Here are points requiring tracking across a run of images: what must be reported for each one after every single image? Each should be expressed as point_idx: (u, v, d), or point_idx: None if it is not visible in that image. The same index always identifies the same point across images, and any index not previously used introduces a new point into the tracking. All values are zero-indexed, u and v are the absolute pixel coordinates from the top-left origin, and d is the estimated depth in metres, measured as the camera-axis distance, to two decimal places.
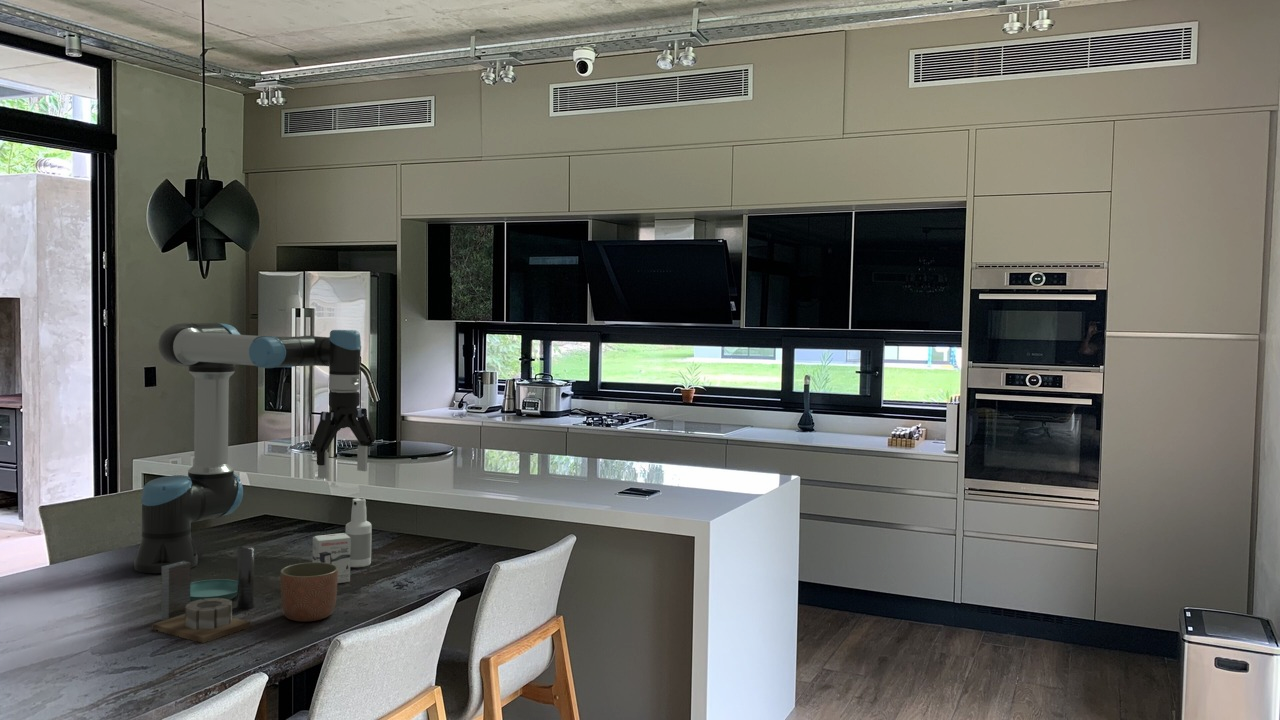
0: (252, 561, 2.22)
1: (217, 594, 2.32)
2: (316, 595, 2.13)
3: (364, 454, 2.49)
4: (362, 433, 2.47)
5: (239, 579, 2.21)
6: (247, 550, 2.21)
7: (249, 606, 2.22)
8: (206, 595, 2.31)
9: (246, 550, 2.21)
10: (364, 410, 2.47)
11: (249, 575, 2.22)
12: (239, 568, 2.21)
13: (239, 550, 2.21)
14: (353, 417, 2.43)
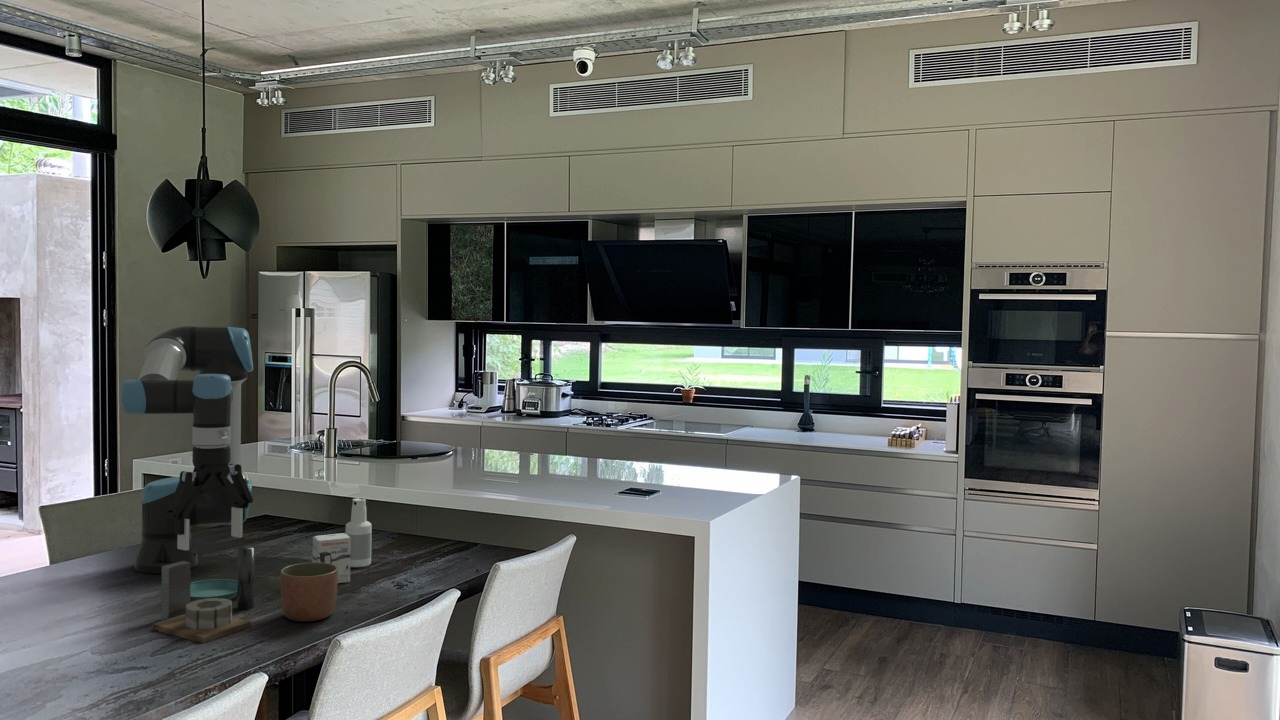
0: (252, 561, 2.22)
1: (217, 594, 2.32)
2: (316, 595, 2.13)
3: (238, 518, 2.13)
4: (235, 493, 2.12)
5: (239, 579, 2.21)
6: (247, 550, 2.21)
7: (249, 606, 2.22)
8: (206, 595, 2.31)
9: (246, 550, 2.21)
10: (238, 467, 2.12)
11: (249, 575, 2.22)
12: (239, 568, 2.21)
13: (239, 550, 2.21)
14: (222, 476, 2.08)
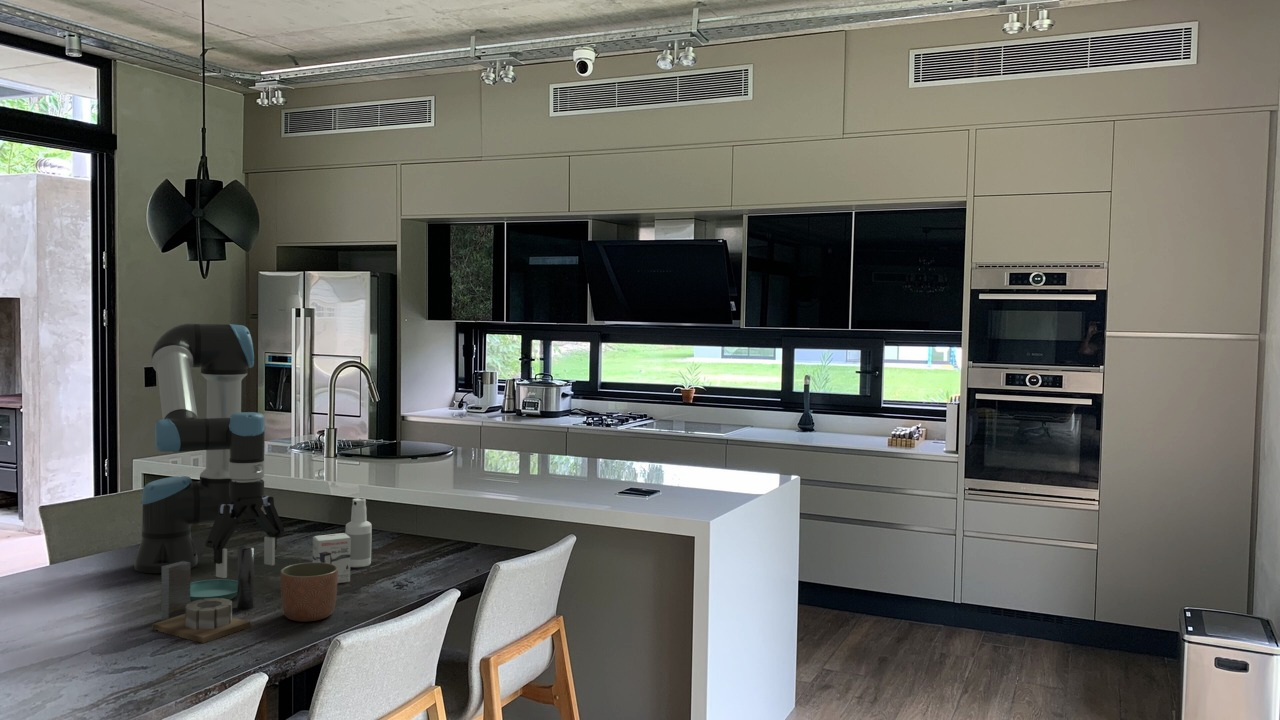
0: (252, 561, 2.22)
1: (217, 594, 2.32)
2: (316, 595, 2.13)
3: (271, 546, 2.28)
4: (268, 524, 2.27)
5: (239, 579, 2.21)
6: (247, 550, 2.21)
7: (249, 606, 2.22)
8: (206, 595, 2.31)
9: (246, 550, 2.21)
10: (270, 499, 2.27)
11: (249, 575, 2.22)
12: (239, 568, 2.21)
13: (239, 550, 2.21)
14: (256, 508, 2.22)
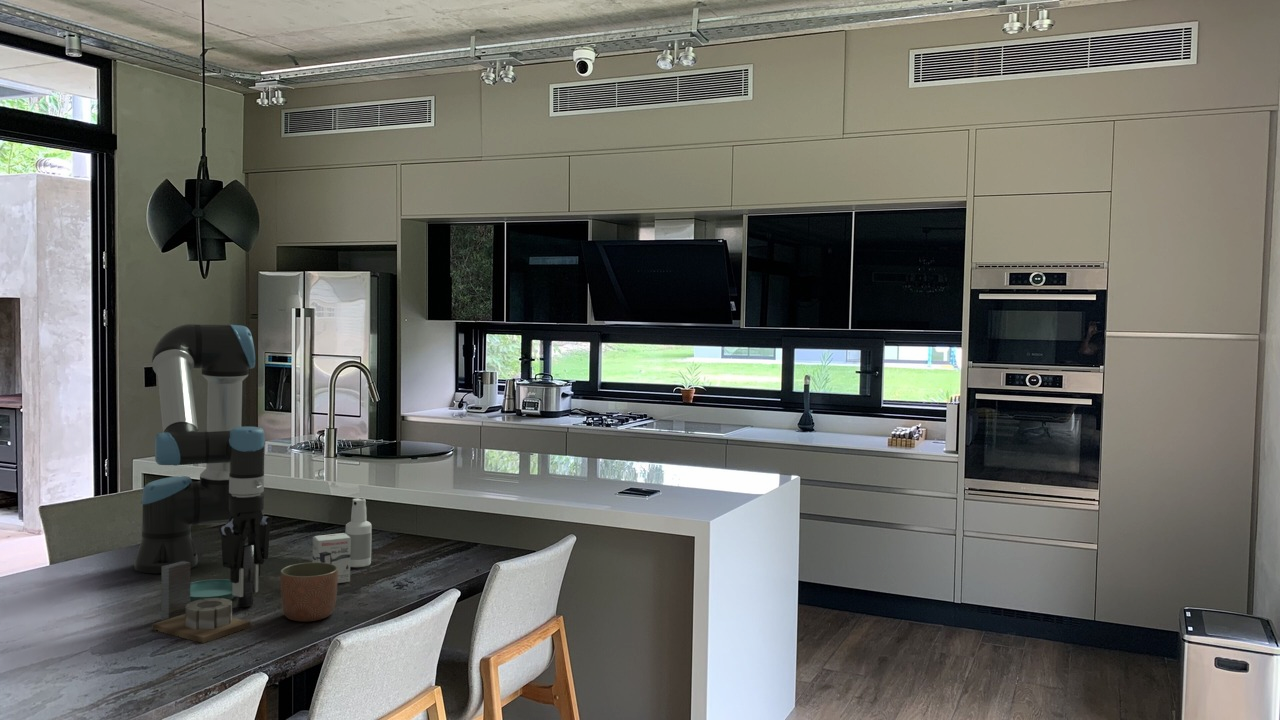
0: (252, 558, 2.23)
1: (217, 594, 2.32)
2: (316, 595, 2.13)
3: (254, 573, 2.24)
4: (258, 546, 2.24)
5: None
6: (247, 547, 2.21)
7: (249, 603, 2.22)
8: (206, 595, 2.31)
9: (246, 547, 2.21)
10: (269, 519, 2.27)
11: (249, 572, 2.22)
12: None
13: None
14: (256, 522, 2.23)
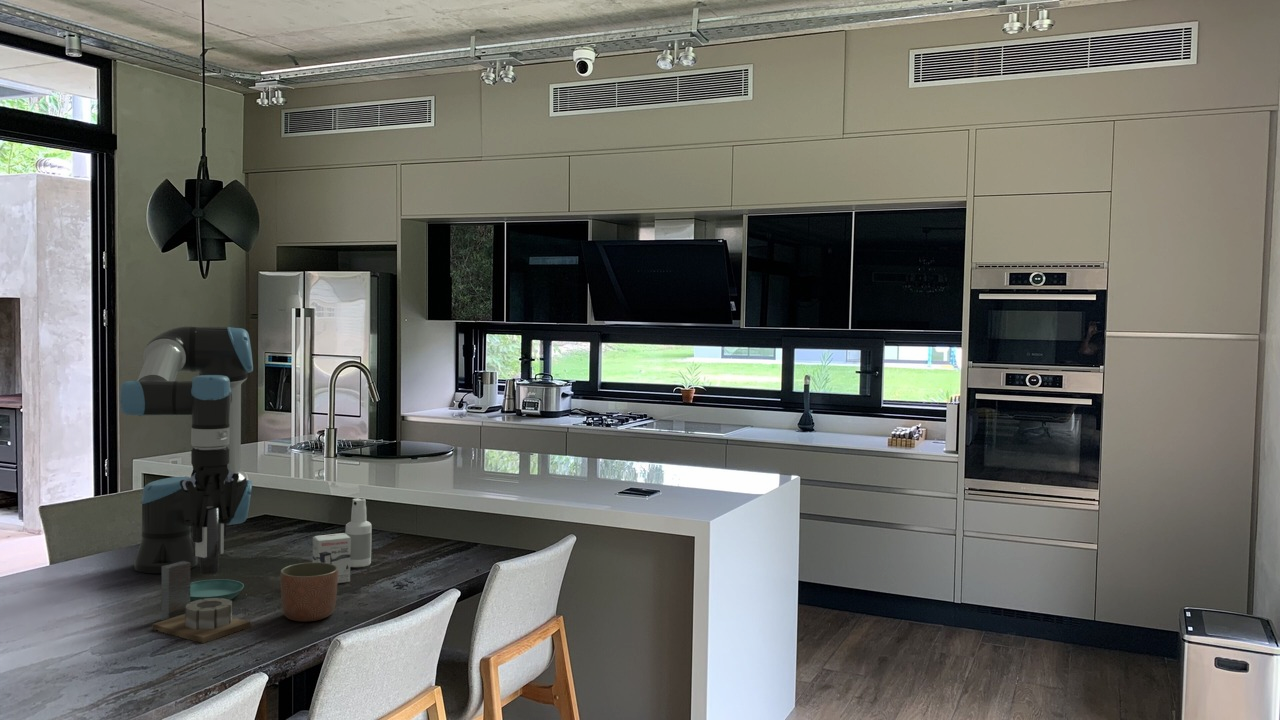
0: (216, 522, 2.07)
1: (217, 594, 2.32)
2: (316, 595, 2.13)
3: (219, 533, 2.09)
4: (223, 504, 2.09)
5: None
6: (211, 510, 2.06)
7: (213, 570, 2.07)
8: (206, 595, 2.31)
9: (210, 510, 2.06)
10: (236, 475, 2.12)
11: (213, 536, 2.06)
12: None
13: None
14: (220, 477, 2.07)
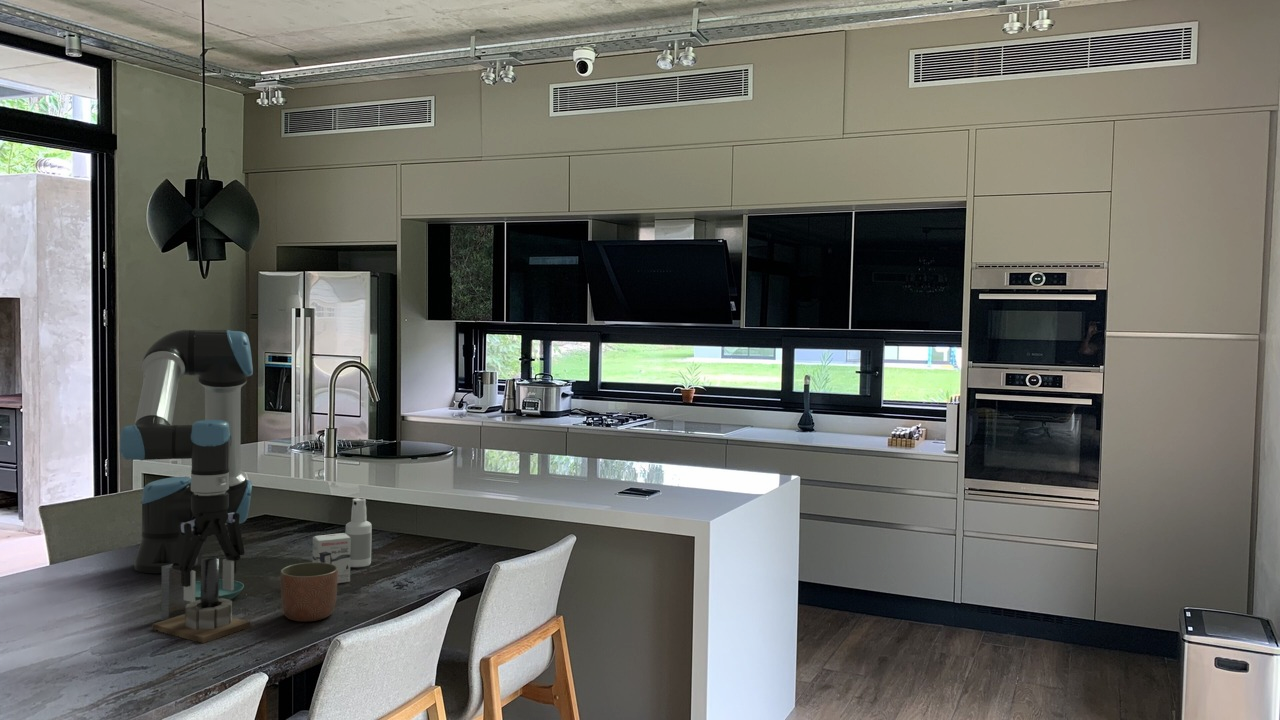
0: (217, 572, 2.08)
1: None
2: (316, 595, 2.13)
3: (230, 570, 2.12)
4: (229, 544, 2.11)
5: (202, 592, 2.07)
6: (211, 560, 2.07)
7: None
8: None
9: (210, 560, 2.07)
10: (236, 515, 2.12)
11: (213, 587, 2.07)
12: (203, 580, 2.07)
13: (203, 560, 2.07)
14: (220, 522, 2.08)
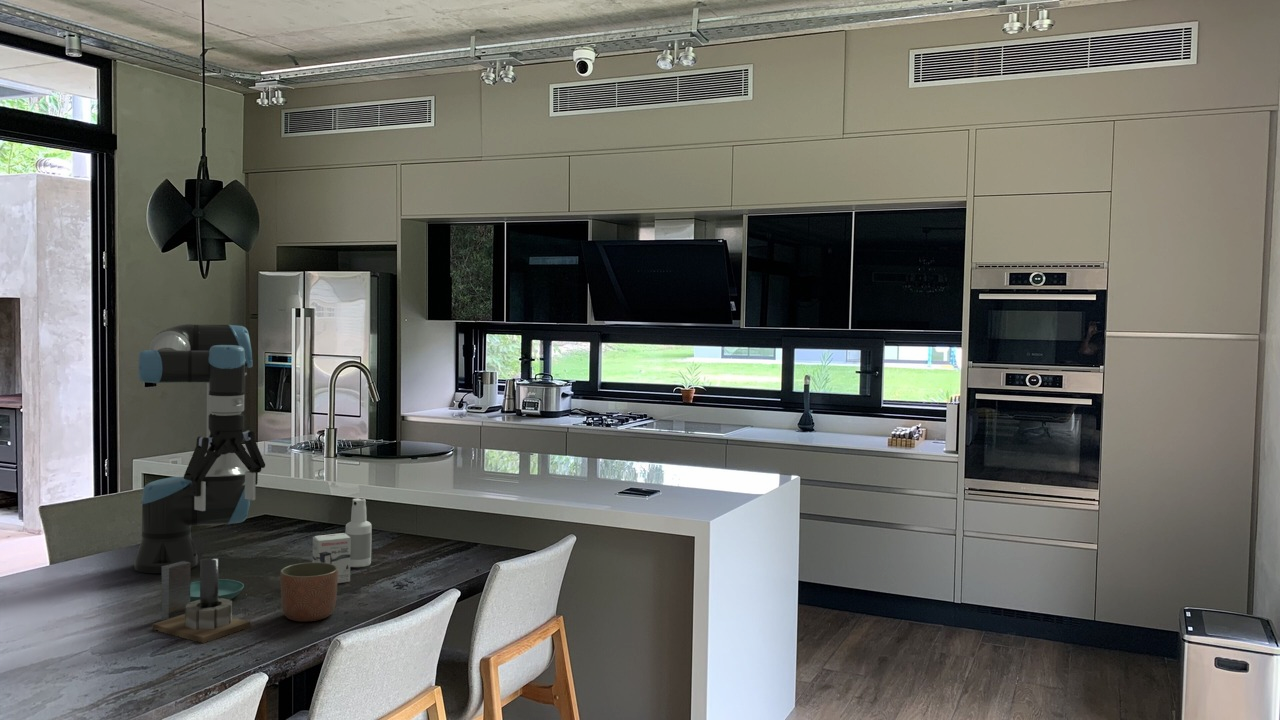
0: (216, 573, 2.07)
1: None
2: (316, 595, 2.13)
3: (252, 481, 2.25)
4: (249, 459, 2.24)
5: (202, 592, 2.07)
6: (210, 561, 2.06)
7: None
8: None
9: (209, 561, 2.06)
10: (251, 433, 2.24)
11: (212, 588, 2.07)
12: (202, 581, 2.06)
13: (202, 561, 2.06)
14: (236, 442, 2.20)
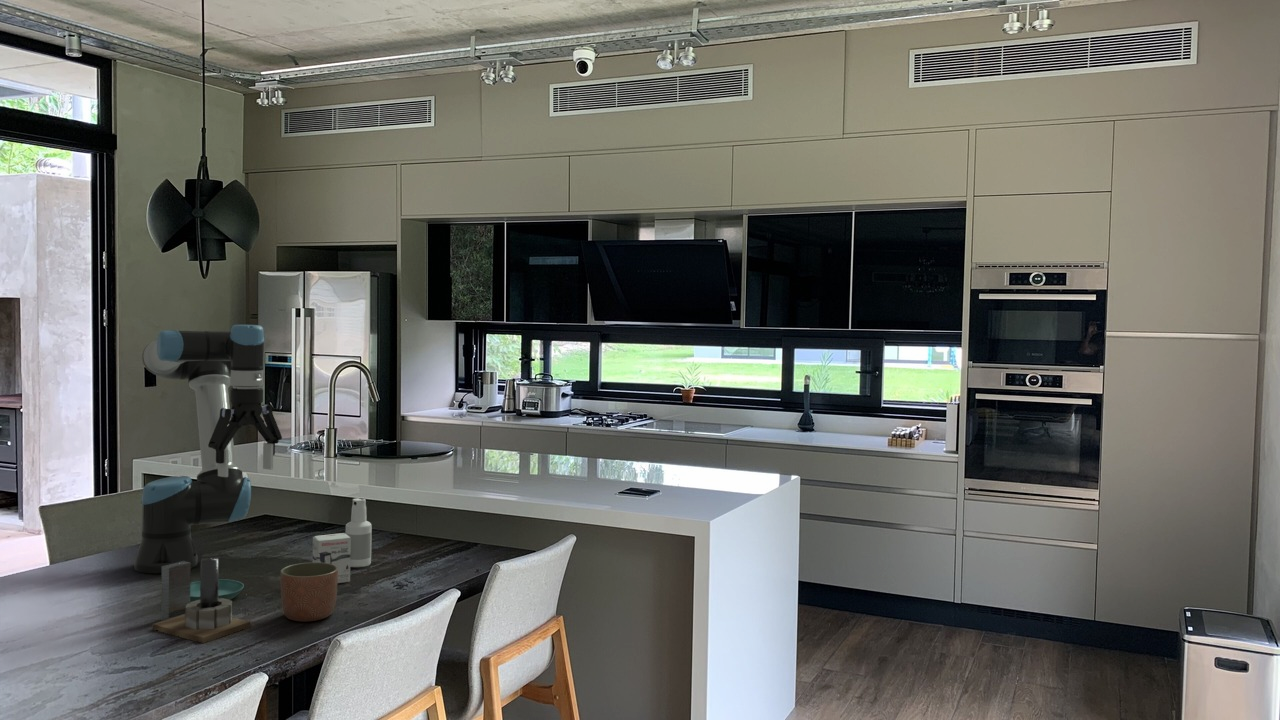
0: (216, 573, 2.07)
1: None
2: (316, 595, 2.13)
3: (269, 452, 2.43)
4: (267, 430, 2.41)
5: (202, 592, 2.07)
6: (211, 561, 2.06)
7: None
8: None
9: (210, 561, 2.06)
10: (269, 407, 2.42)
11: (213, 588, 2.07)
12: (202, 581, 2.06)
13: (202, 561, 2.06)
14: (256, 414, 2.37)
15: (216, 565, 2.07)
